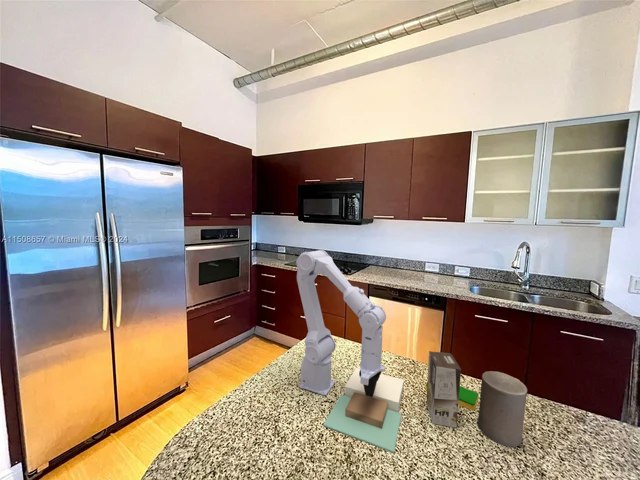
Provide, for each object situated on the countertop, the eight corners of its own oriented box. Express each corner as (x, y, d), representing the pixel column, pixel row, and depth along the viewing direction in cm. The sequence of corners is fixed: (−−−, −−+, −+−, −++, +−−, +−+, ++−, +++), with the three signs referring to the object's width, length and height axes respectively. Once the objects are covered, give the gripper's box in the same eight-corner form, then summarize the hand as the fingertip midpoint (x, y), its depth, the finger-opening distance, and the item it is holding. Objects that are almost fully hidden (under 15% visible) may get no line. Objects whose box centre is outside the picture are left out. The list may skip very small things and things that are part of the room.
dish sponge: (431, 381, 91) (432, 375, 90) (478, 400, 82) (478, 392, 82) (424, 391, 85) (425, 384, 85) (473, 412, 76) (474, 404, 76)
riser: (344, 395, 81) (344, 386, 81) (355, 375, 92) (356, 367, 92) (398, 412, 75) (398, 402, 74) (403, 388, 86) (403, 379, 85)
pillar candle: (469, 423, 71) (473, 370, 70) (492, 413, 75) (497, 363, 74) (507, 453, 63) (513, 393, 61) (531, 439, 67) (537, 383, 65)
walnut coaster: (345, 416, 72) (345, 409, 72) (353, 398, 79) (354, 392, 79) (381, 428, 68) (382, 421, 68) (387, 409, 75) (387, 402, 75)
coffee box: (458, 428, 70) (462, 369, 68) (432, 424, 71) (435, 366, 70) (448, 405, 78) (451, 352, 77) (425, 401, 80) (428, 349, 79)
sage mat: (323, 426, 69) (323, 424, 69) (341, 395, 81) (341, 394, 81) (393, 452, 62) (393, 451, 61) (401, 415, 74) (401, 413, 74)
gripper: (380, 365, 67) (377, 415, 68) (390, 342, 80) (388, 384, 81) (353, 358, 70) (351, 407, 71) (367, 337, 83) (365, 378, 84)
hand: (369, 394), depth 76 cm, fingers closed
